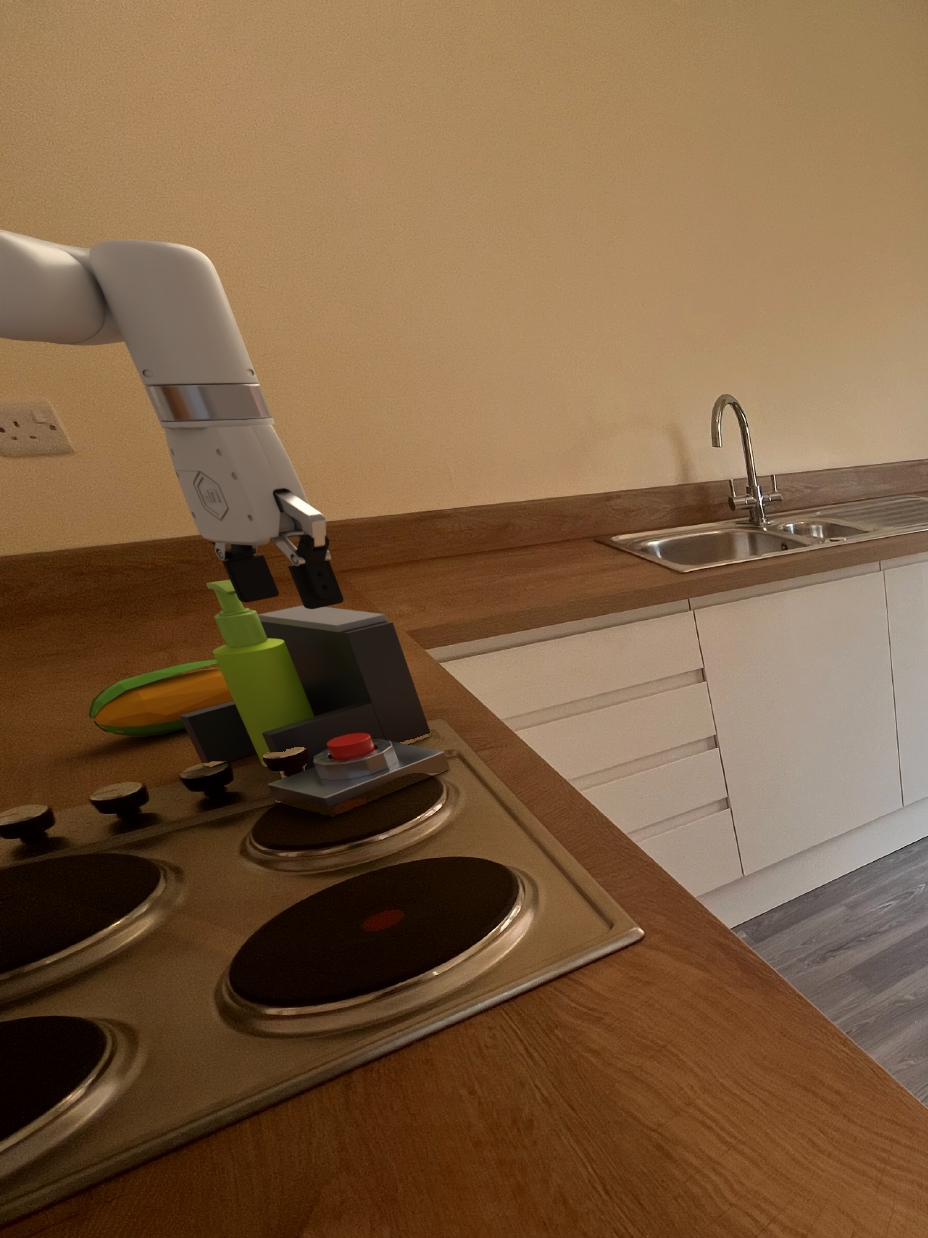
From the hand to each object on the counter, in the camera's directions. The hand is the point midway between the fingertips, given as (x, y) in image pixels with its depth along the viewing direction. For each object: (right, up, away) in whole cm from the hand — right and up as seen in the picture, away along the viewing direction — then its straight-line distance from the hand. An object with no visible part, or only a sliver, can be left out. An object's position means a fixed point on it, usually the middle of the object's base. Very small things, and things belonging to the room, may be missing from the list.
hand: (292, 602), depth 81 cm
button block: (+1, -18, +7) cm, 19 cm away
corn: (-34, -10, +26) cm, 44 cm away
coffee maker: (-11, -14, +16) cm, 24 cm away
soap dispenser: (-12, -15, +14) cm, 24 cm away
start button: (+1, -14, +6) cm, 16 cm away
